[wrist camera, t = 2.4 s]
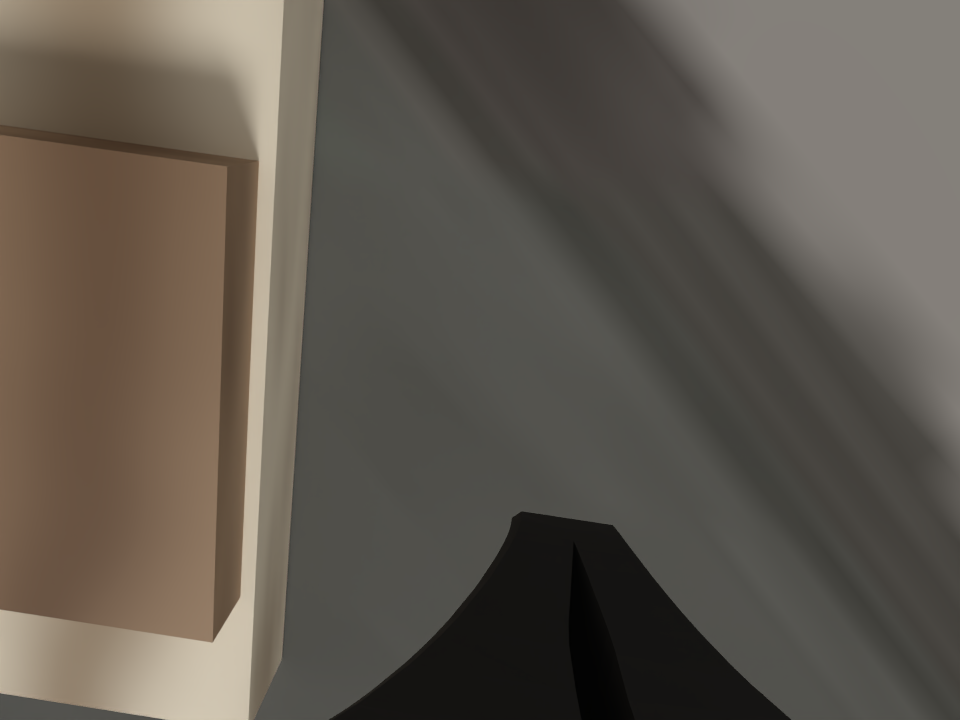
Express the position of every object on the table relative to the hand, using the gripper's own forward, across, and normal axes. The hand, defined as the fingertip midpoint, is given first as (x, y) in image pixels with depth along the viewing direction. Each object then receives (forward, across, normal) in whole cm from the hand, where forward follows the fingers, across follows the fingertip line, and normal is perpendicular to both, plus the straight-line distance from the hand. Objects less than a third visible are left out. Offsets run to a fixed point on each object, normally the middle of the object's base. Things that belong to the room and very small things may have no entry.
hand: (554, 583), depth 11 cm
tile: (+5, +9, 0) cm, 10 cm away
